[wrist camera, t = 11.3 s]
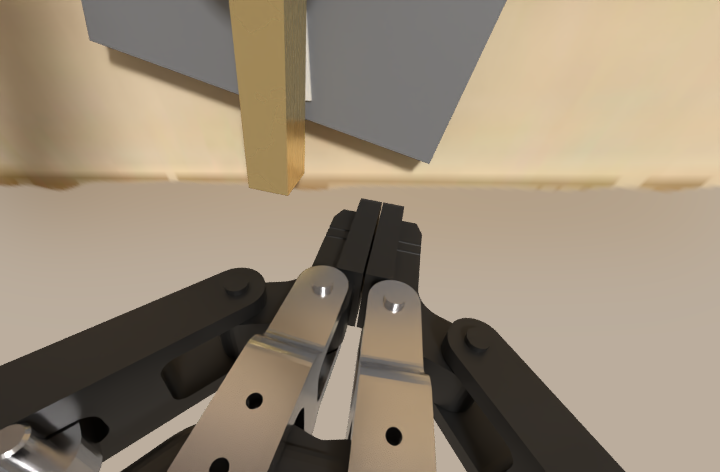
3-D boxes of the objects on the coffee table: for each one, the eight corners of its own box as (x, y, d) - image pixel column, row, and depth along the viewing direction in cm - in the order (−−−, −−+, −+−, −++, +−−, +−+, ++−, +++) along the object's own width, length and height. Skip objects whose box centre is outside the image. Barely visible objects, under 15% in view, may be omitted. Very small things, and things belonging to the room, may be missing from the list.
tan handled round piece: (186, -331, 11) (90, -453, 8) (385, -315, 11) (364, -439, 8) (241, 154, 22) (210, 181, 19) (341, 174, 22) (325, 205, 19)
